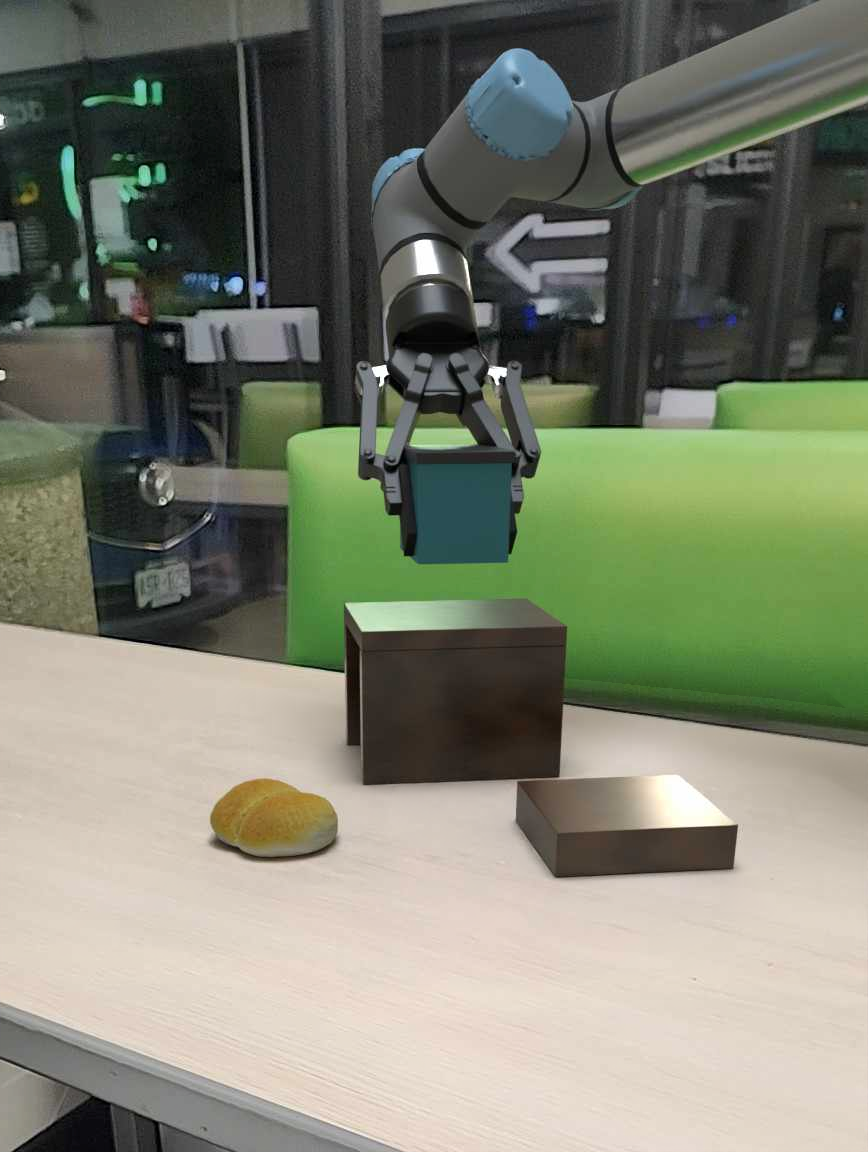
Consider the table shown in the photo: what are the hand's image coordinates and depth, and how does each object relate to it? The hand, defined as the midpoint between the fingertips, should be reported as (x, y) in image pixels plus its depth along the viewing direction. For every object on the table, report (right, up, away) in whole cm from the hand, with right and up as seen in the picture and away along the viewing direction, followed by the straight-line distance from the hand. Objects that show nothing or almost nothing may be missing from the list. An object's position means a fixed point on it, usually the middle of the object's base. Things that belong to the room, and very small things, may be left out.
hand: (460, 543), depth 102 cm
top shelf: (0, -15, +11) cm, 18 cm away
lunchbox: (0, 0, +4) cm, 4 cm away
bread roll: (-14, -24, -9) cm, 29 cm away
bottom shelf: (+10, -24, -10) cm, 28 cm away
